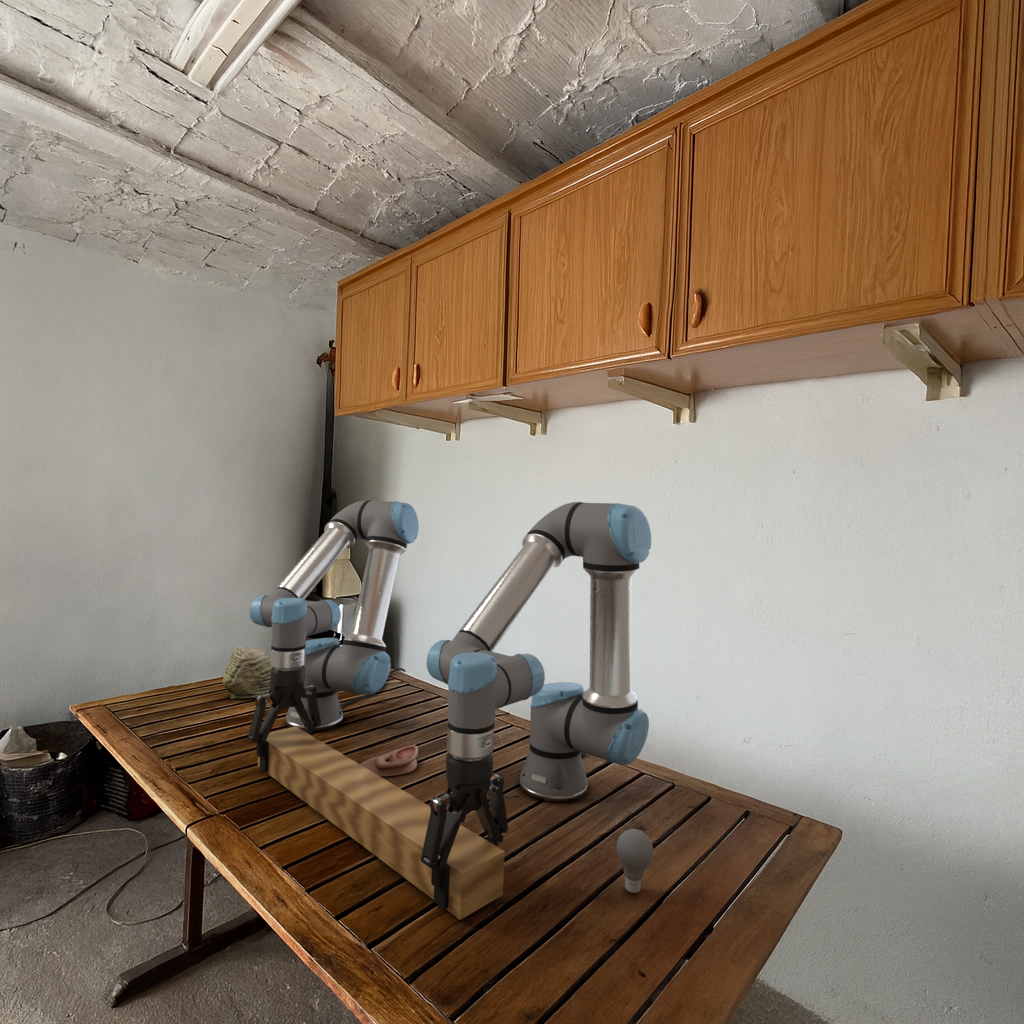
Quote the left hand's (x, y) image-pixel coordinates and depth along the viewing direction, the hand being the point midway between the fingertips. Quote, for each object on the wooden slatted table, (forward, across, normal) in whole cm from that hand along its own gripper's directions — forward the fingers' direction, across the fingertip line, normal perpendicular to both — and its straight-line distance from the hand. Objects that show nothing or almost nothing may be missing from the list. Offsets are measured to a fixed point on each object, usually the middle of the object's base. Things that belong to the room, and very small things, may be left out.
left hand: (284, 763), depth 146 cm
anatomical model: (+2, +19, -14) cm, 23 cm away
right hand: (0, 0, -63) cm, 63 cm away
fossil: (+2, +17, +57) cm, 60 cm away
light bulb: (+2, +23, -80) cm, 83 cm away
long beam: (+1, 0, -32) cm, 32 cm away
